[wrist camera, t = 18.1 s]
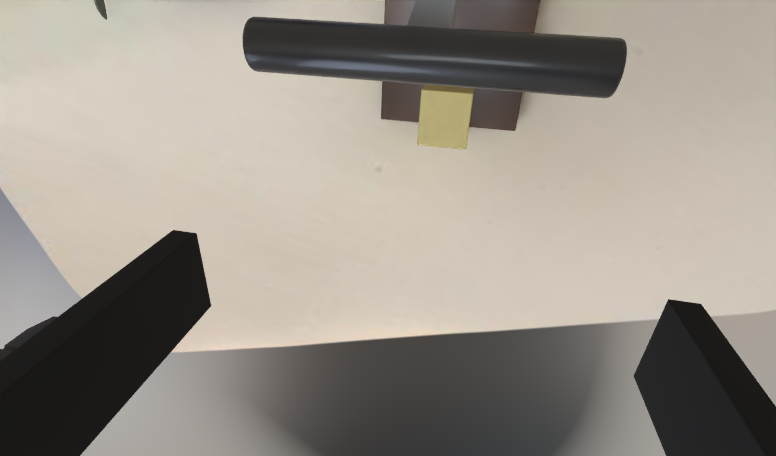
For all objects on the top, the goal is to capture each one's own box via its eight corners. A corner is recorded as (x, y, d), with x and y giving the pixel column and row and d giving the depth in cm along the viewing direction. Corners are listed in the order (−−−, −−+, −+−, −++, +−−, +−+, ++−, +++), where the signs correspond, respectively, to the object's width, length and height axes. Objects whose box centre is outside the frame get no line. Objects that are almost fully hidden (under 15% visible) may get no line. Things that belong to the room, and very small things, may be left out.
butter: (467, 133, 35) (465, 149, 31) (423, 128, 35) (417, 145, 31) (473, 82, 33) (473, 93, 29) (427, 78, 33) (421, 89, 30)
